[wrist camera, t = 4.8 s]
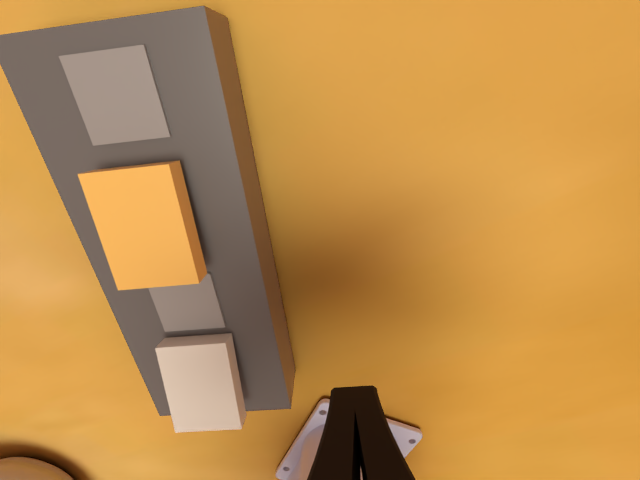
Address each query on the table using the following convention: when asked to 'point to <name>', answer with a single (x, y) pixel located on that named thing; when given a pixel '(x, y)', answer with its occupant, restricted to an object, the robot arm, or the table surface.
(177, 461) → the table surface
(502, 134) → the table surface
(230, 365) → the beige rectangular slab
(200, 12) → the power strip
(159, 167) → the block
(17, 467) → the teacup
